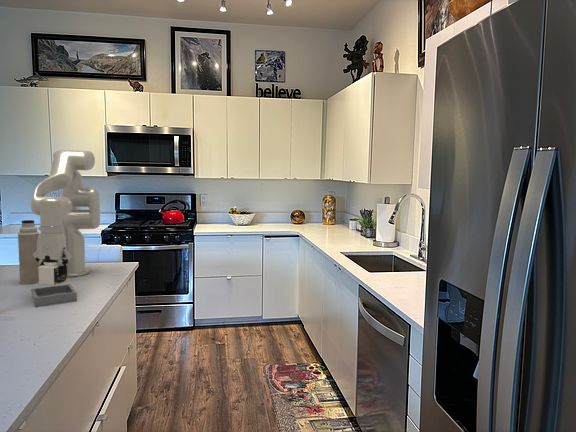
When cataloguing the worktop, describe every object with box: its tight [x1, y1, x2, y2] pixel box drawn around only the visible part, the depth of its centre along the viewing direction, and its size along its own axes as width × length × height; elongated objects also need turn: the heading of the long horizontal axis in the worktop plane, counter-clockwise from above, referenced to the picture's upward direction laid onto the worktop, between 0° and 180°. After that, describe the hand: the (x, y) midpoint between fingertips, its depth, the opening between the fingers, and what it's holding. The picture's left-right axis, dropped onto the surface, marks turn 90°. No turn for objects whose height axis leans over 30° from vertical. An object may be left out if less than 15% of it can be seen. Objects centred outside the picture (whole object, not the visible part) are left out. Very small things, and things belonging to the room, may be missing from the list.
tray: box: [30, 283, 78, 308], centre depth 165 cm, size 14×14×4 cm
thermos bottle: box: [17, 219, 40, 285], centre depth 187 cm, size 8×8×28 cm
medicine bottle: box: [38, 256, 68, 286], centre depth 164 cm, size 7×7×12 cm
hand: (53, 274), depth 164 cm, fingers closed on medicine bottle, 7 cm apart
